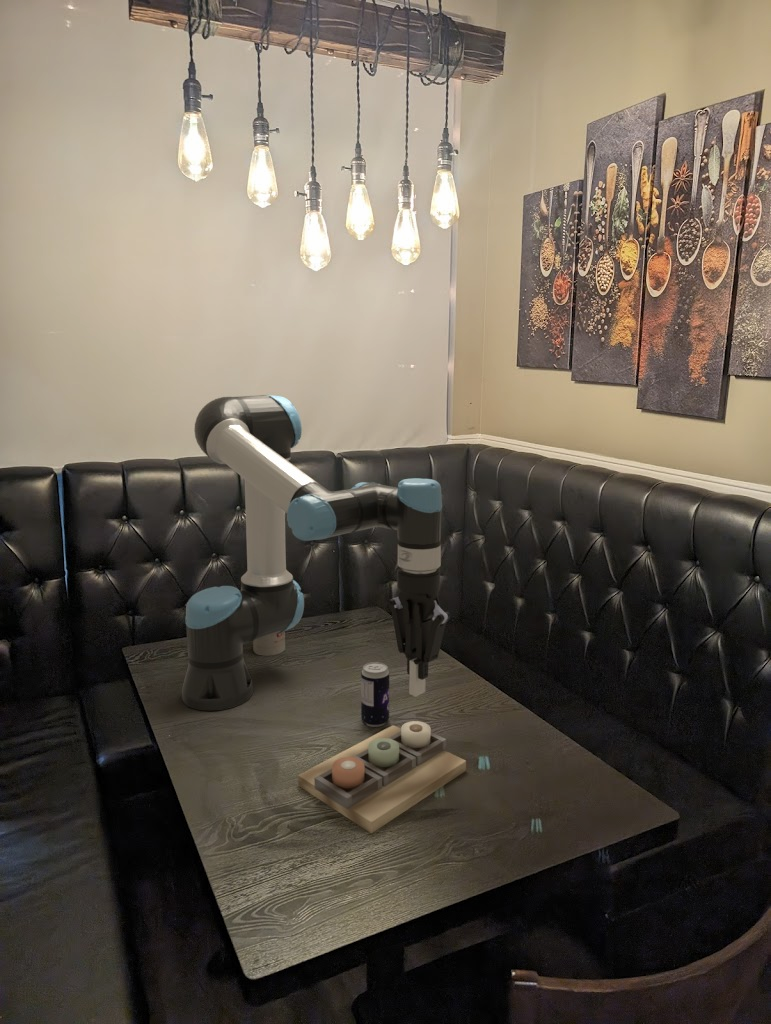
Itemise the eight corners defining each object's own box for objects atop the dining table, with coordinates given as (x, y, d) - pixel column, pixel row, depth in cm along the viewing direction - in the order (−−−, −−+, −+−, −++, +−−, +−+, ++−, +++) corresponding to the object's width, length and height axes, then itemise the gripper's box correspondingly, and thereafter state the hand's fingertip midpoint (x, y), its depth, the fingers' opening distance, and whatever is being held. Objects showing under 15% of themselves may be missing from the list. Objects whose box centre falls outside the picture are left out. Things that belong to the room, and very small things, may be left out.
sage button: (362, 758, 123) (361, 745, 122) (383, 746, 127) (383, 733, 126) (384, 771, 119) (384, 757, 119) (405, 758, 123) (405, 745, 123)
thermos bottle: (291, 649, 178) (288, 543, 172) (264, 658, 173) (261, 549, 167) (273, 640, 184) (270, 537, 178) (247, 648, 179) (243, 542, 173)
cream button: (395, 740, 129) (395, 727, 128) (414, 729, 133) (414, 717, 132) (417, 751, 125) (417, 738, 125) (436, 740, 129) (436, 727, 129)
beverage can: (386, 730, 140) (386, 674, 137) (358, 727, 141) (358, 671, 138) (391, 716, 145) (391, 662, 143) (364, 713, 146) (364, 660, 144)
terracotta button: (325, 778, 117) (325, 764, 116) (349, 765, 121) (349, 752, 120) (347, 792, 113) (347, 778, 113) (371, 778, 117) (371, 764, 117)
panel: (295, 786, 121) (295, 765, 120) (394, 733, 139) (395, 714, 138) (369, 834, 109) (369, 812, 108) (467, 769, 127) (468, 749, 126)
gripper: (377, 564, 124) (377, 688, 129) (433, 580, 115) (431, 712, 120) (405, 556, 129) (404, 675, 134) (461, 571, 120) (458, 697, 125)
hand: (417, 692), depth 127 cm, fingers closed
